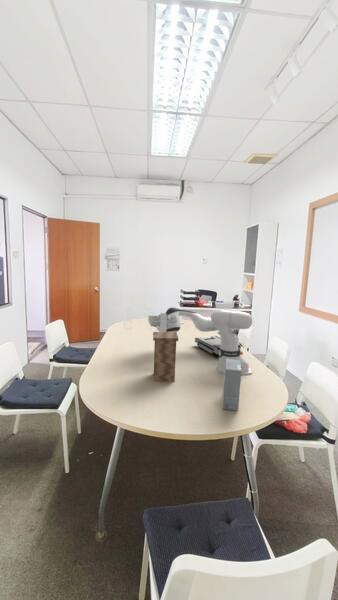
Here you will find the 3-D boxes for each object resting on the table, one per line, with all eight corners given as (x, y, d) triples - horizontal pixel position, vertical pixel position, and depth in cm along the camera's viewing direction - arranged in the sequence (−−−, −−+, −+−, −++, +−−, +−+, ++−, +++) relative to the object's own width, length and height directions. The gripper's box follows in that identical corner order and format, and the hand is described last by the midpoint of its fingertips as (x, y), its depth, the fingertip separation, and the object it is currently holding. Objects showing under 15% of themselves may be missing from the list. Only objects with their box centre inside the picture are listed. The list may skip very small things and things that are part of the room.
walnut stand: (174, 373, 173) (176, 332, 169) (176, 382, 160) (178, 338, 156) (151, 373, 172) (153, 331, 168) (151, 382, 159) (153, 337, 156)
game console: (215, 343, 239) (216, 334, 238) (239, 356, 211) (240, 345, 209) (194, 346, 230) (195, 336, 229) (216, 359, 202) (217, 348, 201)
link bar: (167, 314, 191) (168, 312, 187) (167, 346, 183) (167, 345, 179) (158, 314, 191) (159, 312, 187) (158, 346, 183) (158, 345, 179)
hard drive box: (238, 411, 132) (241, 371, 129) (221, 409, 133) (224, 369, 130) (237, 396, 147) (240, 359, 144) (222, 394, 148) (224, 358, 145)
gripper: (177, 326, 200) (179, 320, 187) (148, 325, 198) (148, 320, 186) (176, 318, 202) (178, 311, 189) (148, 317, 201) (148, 311, 188)
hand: (163, 315), depth 187 cm, fingers open, 4 cm apart
